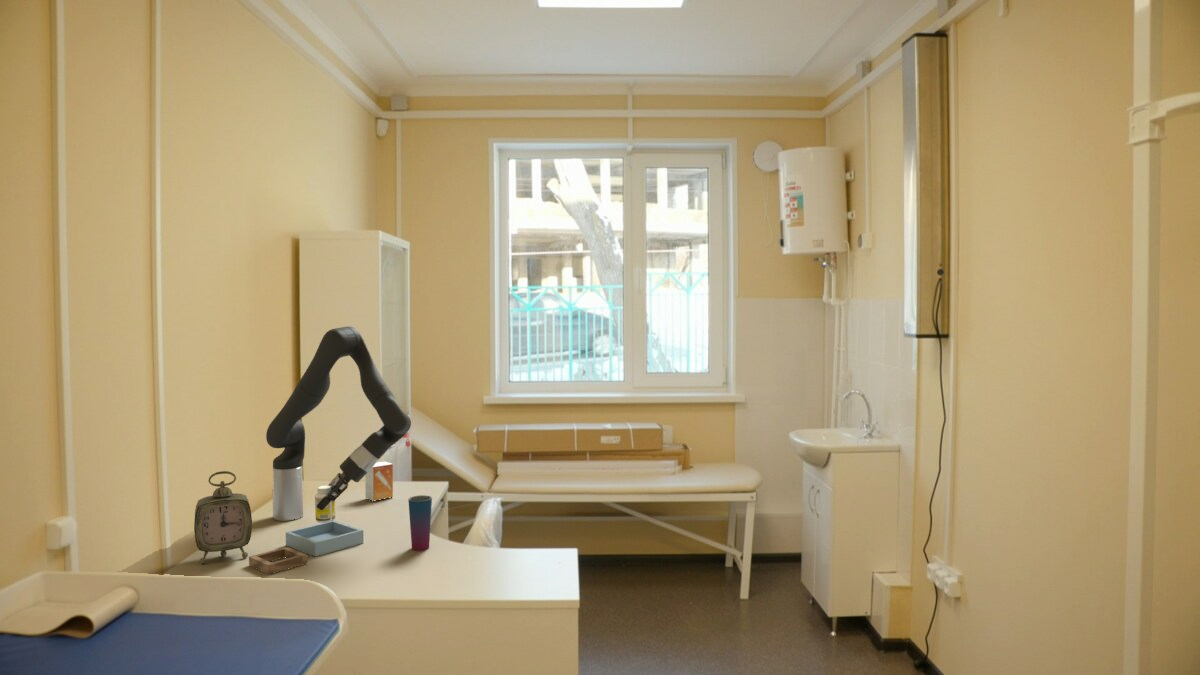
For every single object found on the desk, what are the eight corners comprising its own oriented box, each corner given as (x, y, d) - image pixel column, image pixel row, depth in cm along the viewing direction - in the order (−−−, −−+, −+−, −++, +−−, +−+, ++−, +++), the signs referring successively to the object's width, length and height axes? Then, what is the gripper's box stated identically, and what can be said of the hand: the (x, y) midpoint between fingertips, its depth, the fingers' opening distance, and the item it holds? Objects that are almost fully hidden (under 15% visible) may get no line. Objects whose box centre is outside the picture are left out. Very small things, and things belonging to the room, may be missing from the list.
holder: (249, 565, 212) (248, 556, 212) (286, 555, 221) (286, 546, 220) (269, 574, 205) (269, 565, 205) (307, 563, 214) (307, 554, 214)
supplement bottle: (328, 516, 234) (328, 483, 234) (338, 520, 231) (338, 486, 230) (311, 521, 230) (311, 487, 229) (321, 524, 226) (320, 490, 226)
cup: (436, 546, 229) (436, 496, 228) (422, 553, 223) (422, 502, 222) (418, 543, 232) (418, 494, 231) (403, 549, 226) (403, 499, 225)
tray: (285, 545, 229) (285, 532, 229) (333, 532, 242) (333, 520, 242) (315, 556, 219) (315, 543, 219) (363, 543, 232) (363, 530, 232)
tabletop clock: (195, 567, 211) (193, 477, 209) (195, 557, 219) (193, 470, 217) (252, 559, 217) (251, 471, 216) (250, 549, 225) (249, 465, 224)
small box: (373, 502, 278) (373, 466, 278) (365, 499, 283) (364, 464, 282) (393, 498, 284) (393, 463, 283) (385, 495, 288) (384, 460, 288)
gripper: (348, 450, 239) (308, 492, 235) (351, 459, 225) (309, 503, 222) (366, 466, 241) (327, 507, 237) (370, 475, 228) (328, 520, 224)
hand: (318, 505), depth 229 cm, fingers closed on supplement bottle, 5 cm apart
